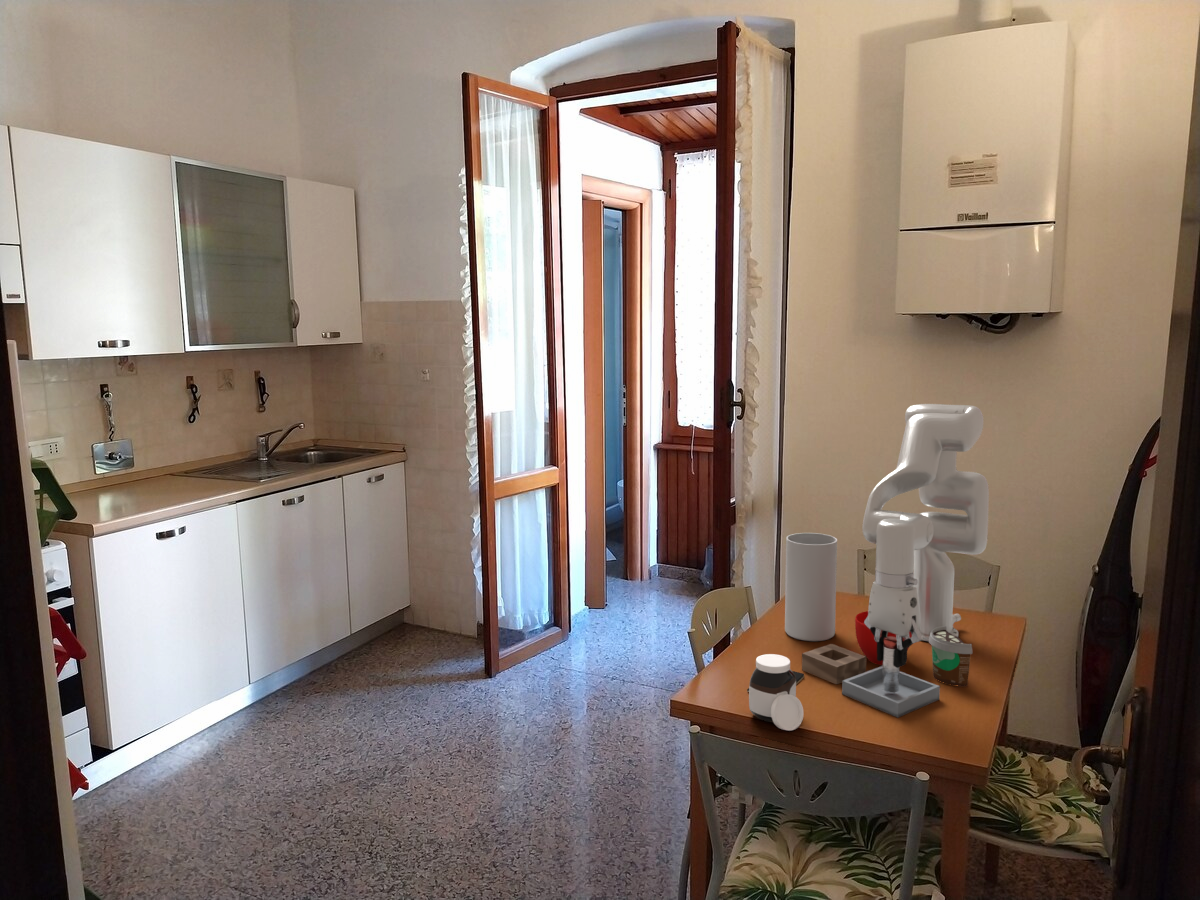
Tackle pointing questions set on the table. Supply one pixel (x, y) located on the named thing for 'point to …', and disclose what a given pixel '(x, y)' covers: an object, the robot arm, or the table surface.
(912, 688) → the slate tray
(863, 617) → the red bowl
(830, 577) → the cylinder vase
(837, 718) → the table surface
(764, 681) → the jar and lid
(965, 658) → the food container
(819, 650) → the walnut socket block
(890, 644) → the steel pin
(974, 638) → the table surface
